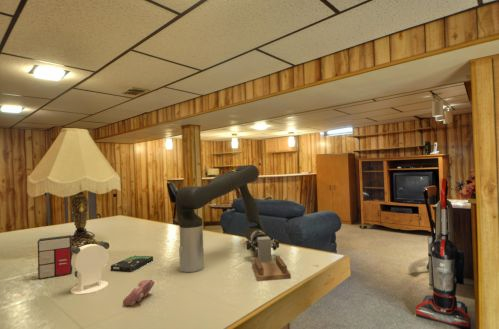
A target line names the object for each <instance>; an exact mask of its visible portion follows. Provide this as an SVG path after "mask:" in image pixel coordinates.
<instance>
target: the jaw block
mask: <svg viewBox="0 0 499 329" xmlns="http://www.w3.org/2000/svg"><path fill="white" fill-rule="evenodd" d="M266 236H267V235H266ZM271 241H272V240H271V237H269V236H267V237H257V246H258V249H257V257H258V258H259V260H260V262H261V263H262V262H273V261H272V248H271Z"/></svg>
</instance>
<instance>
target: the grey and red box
mask: <svg viewBox="0 0 499 329" xmlns="http://www.w3.org/2000/svg"><path fill="white" fill-rule="evenodd" d="M72 247H73V238H72V235H70V234H68V235H60V236H51V237H45V238H44V237H43V238H42V237H41V238H39V239H38V240H37V271H38V272H37V278H38V280H42V279H41V278H44V279H47V278H48V277H50V278H54V277H55V276H56V277H61V276H60V275H62V276H67V275H71V274H72V273H73V267H72V265H71V259H72V256H73V253H72V252H70V250H71V248H72ZM66 274H67V275H66ZM48 279H49V278H48Z"/></svg>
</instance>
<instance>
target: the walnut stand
mask: <svg viewBox="0 0 499 329" xmlns="http://www.w3.org/2000/svg"><path fill="white" fill-rule="evenodd" d="M251 267H252V270H253V273H254V276H255V278H256V281H257V282H261V281H262V282H263V281H264V282H265V281H275V280H287V279H291V277H292V275H291V273H290V271H289V270H288V266H287V264H286V263H285V261H284V260H283V259H282V258H281V256H280V255H275V261H272V262H262V263H261V262H260V260H259V258H258V256H257V257H254V262H252V264H251Z"/></svg>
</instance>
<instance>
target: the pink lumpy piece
mask: <svg viewBox="0 0 499 329" xmlns="http://www.w3.org/2000/svg"><path fill="white" fill-rule="evenodd" d="M154 285H155V280H152V279H149V278H146V279H144V280H141V281H140V282H138V284H137V285H136V286H135V287H134V288H133V289H132V290H131V292H130V293H129V294H128V295H127V296H126V297H125V298H124V299H123V300H122V304H123V306H124V307H128V306H131V305H132V304H134V303H140V302H141V300H142V298H143V299H145V298H146V297H147V296H148V293H149V292H150V291H151V290H152V288H153V287H154Z"/></svg>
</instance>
